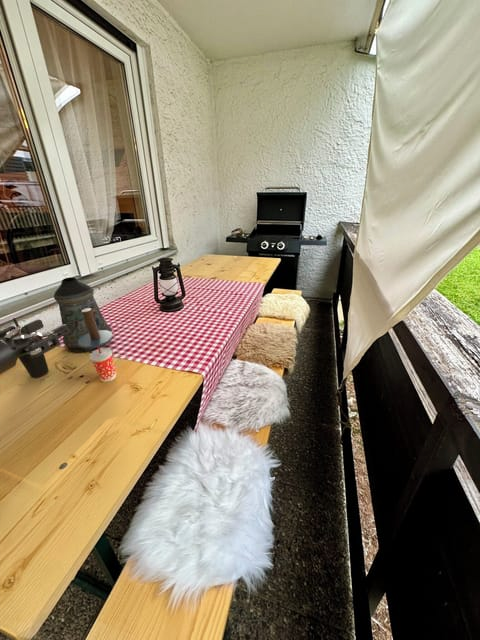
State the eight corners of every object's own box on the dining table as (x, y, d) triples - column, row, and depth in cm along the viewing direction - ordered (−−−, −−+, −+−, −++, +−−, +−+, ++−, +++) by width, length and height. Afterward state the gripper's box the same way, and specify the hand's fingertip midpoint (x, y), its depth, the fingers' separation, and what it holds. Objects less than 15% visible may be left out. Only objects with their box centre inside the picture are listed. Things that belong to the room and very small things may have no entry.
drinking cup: (58, 370, 85) (35, 316, 76) (32, 384, 79) (4, 327, 70) (46, 363, 88) (22, 310, 79) (21, 375, 83) (-8, 321, 73)
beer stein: (89, 357, 91) (66, 291, 79) (49, 348, 97) (22, 284, 85) (122, 334, 105) (106, 274, 93) (85, 327, 111) (66, 270, 99)
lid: (71, 345, 72) (59, 314, 68) (96, 330, 80) (86, 301, 75) (96, 350, 70) (85, 319, 65) (119, 334, 77) (111, 305, 73)
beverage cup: (97, 374, 83) (84, 337, 76) (118, 368, 85) (107, 332, 79) (97, 386, 78) (83, 347, 71) (119, 380, 80) (107, 342, 74)
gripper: (-8, 355, 45) (71, 315, 59) (-58, 342, 49) (27, 307, 63) (11, 387, 49) (81, 342, 62) (-38, 373, 53) (38, 334, 66)
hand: (54, 325), depth 63 cm, fingers open, 8 cm apart
